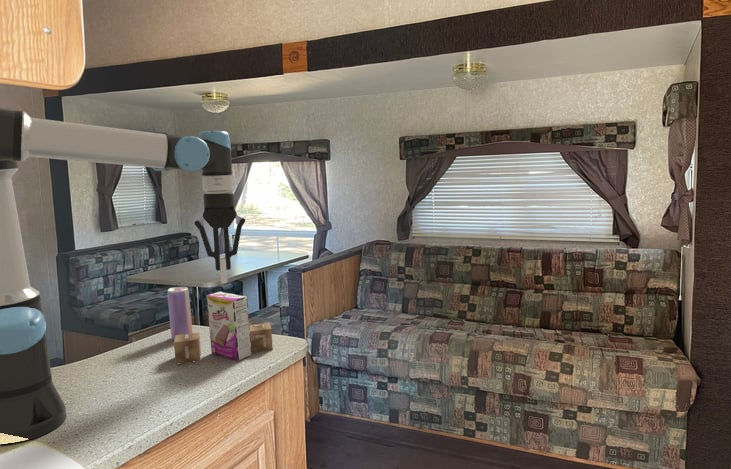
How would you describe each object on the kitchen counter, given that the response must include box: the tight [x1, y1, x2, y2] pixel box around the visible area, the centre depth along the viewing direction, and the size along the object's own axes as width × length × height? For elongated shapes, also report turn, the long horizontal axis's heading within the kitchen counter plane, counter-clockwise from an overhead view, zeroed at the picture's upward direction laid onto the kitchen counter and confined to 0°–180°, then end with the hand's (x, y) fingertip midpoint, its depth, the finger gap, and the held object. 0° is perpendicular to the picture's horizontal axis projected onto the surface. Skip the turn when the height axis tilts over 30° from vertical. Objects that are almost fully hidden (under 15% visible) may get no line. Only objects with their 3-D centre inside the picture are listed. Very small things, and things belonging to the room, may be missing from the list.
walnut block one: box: [173, 332, 202, 365], centre depth 144 cm, size 6×6×6 cm
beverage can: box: [166, 286, 193, 341], centre depth 160 cm, size 6×6×15 cm
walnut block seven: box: [249, 322, 274, 353], centre depth 150 cm, size 6×6×6 cm
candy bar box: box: [206, 291, 253, 362], centre depth 145 cm, size 11×5×16 cm, turn 54°
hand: (224, 282), depth 143 cm, fingers closed
